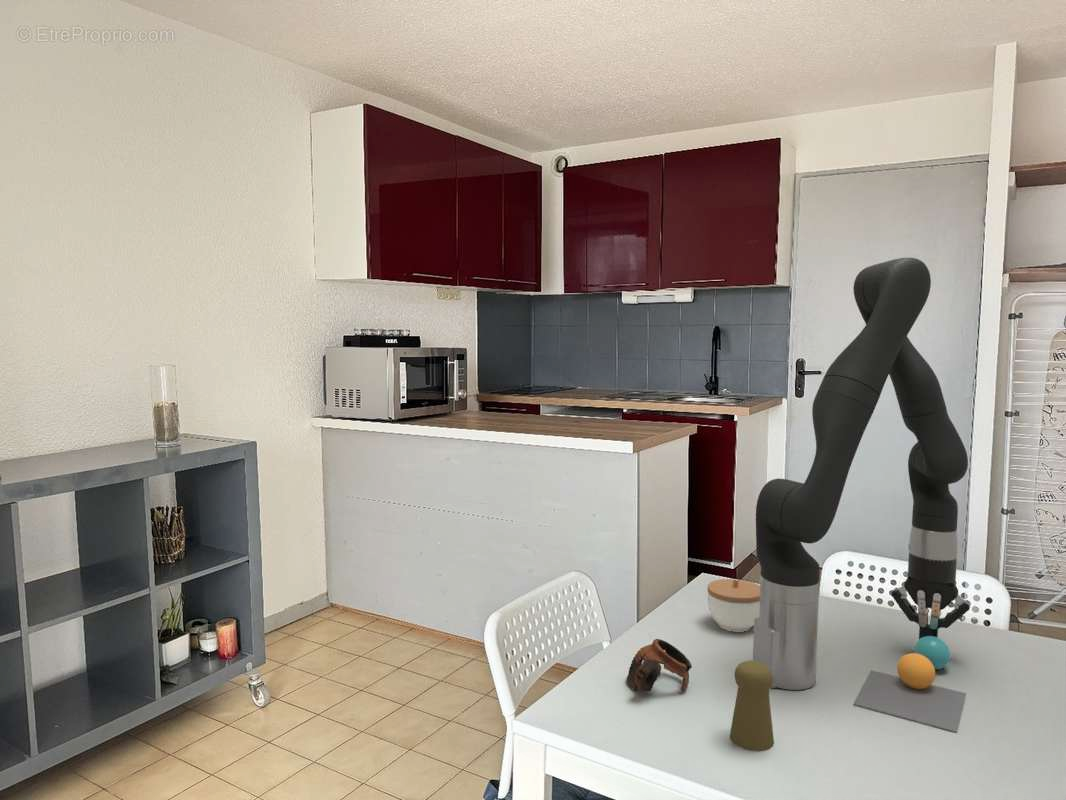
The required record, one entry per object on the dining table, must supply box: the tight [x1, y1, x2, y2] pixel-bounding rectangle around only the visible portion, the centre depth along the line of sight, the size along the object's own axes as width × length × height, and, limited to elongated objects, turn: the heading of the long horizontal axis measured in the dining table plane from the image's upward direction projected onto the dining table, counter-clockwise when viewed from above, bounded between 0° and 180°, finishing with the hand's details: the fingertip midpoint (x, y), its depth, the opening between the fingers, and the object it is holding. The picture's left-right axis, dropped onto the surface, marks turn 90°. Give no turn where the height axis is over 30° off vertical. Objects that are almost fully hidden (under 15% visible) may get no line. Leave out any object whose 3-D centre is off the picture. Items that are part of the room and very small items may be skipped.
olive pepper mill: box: [729, 660, 775, 752], centre depth 105 cm, size 6×6×11 cm
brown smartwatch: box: [626, 638, 693, 693], centre depth 120 cm, size 12×10×8 cm
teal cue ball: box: [913, 636, 951, 671], centre depth 127 cm, size 6×6×6 cm
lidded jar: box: [707, 578, 760, 633], centre depth 145 cm, size 11×11×9 cm
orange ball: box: [896, 652, 936, 689], centre depth 121 cm, size 6×6×6 cm
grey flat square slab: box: [853, 670, 967, 734], centre depth 117 cm, size 14×14×1 cm
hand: (927, 646), depth 133 cm, fingers closed
